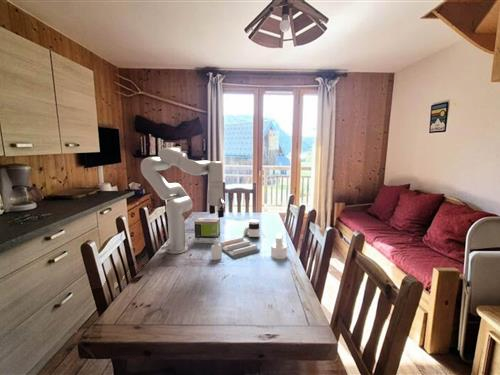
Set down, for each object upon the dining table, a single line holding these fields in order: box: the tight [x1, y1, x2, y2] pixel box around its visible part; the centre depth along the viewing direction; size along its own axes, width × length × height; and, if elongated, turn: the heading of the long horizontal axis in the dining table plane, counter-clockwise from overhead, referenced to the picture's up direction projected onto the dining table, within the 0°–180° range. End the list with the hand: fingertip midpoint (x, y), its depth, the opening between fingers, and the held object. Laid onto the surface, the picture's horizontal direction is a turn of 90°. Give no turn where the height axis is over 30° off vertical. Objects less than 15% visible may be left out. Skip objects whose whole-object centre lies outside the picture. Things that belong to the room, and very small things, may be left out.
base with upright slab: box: [270, 232, 288, 260], centre depth 148 cm, size 9×9×12 cm
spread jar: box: [242, 219, 261, 239], centre depth 179 cm, size 12×11×12 cm
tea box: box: [193, 217, 221, 244], centre depth 170 cm, size 15×10×15 cm, turn 84°
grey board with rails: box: [219, 236, 261, 260], centre depth 156 cm, size 18×19×4 cm
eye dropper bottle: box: [210, 238, 223, 261], centre depth 143 cm, size 4×6×12 cm
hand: (216, 215), depth 141 cm, fingers open, 9 cm apart
